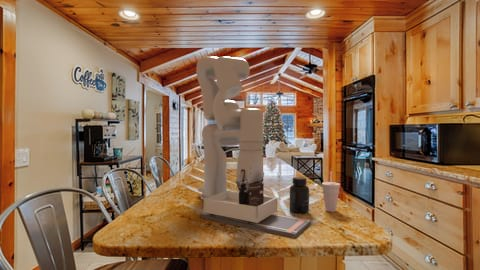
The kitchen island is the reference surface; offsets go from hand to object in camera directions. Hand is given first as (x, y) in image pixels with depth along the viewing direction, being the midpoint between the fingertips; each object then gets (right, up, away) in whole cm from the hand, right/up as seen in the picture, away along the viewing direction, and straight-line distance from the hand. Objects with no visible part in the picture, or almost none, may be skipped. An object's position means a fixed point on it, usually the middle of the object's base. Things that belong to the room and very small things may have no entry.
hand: (250, 201), depth 91 cm
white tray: (-3, -5, +2) cm, 6 cm away
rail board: (+1, -6, -1) cm, 6 cm away
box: (0, -2, 0) cm, 2 cm away
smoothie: (+29, -6, +11) cm, 32 cm away
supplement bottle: (+18, -6, +9) cm, 21 cm away
